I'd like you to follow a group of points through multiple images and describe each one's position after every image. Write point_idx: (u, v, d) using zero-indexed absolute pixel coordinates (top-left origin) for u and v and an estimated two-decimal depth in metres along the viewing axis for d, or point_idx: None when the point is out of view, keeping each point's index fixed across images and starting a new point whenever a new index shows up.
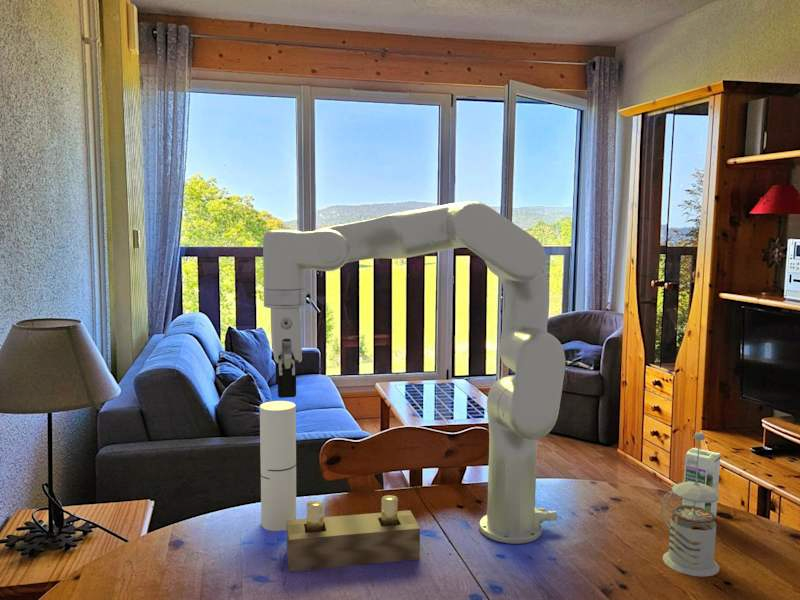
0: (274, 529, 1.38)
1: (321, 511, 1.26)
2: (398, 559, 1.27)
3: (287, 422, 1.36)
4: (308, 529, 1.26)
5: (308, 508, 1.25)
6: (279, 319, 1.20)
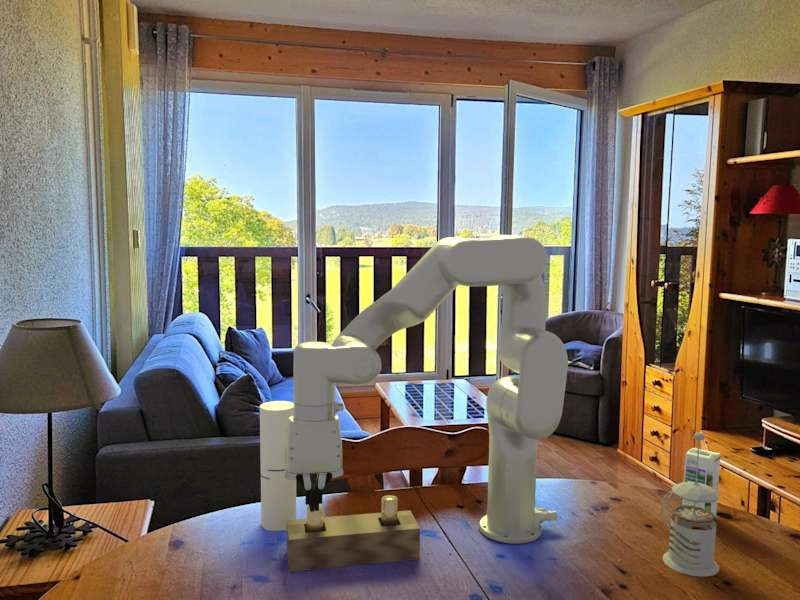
0: (274, 529, 1.38)
1: (321, 514, 1.26)
2: (398, 559, 1.27)
3: (287, 422, 1.36)
4: (308, 532, 1.26)
5: (308, 511, 1.25)
6: None
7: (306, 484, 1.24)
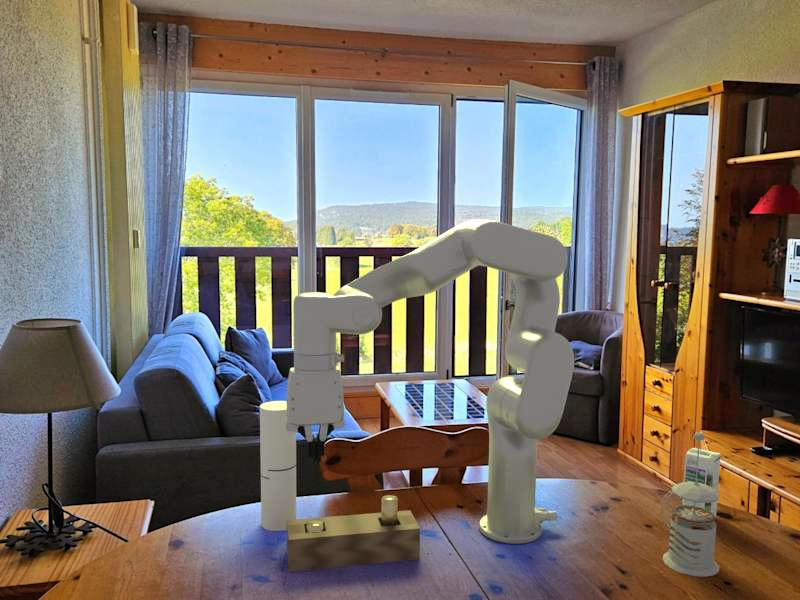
0: (274, 529, 1.38)
1: (321, 531, 1.26)
2: (398, 559, 1.27)
3: None
4: None
5: (308, 528, 1.26)
6: (341, 379, 1.23)
7: (308, 436, 1.23)
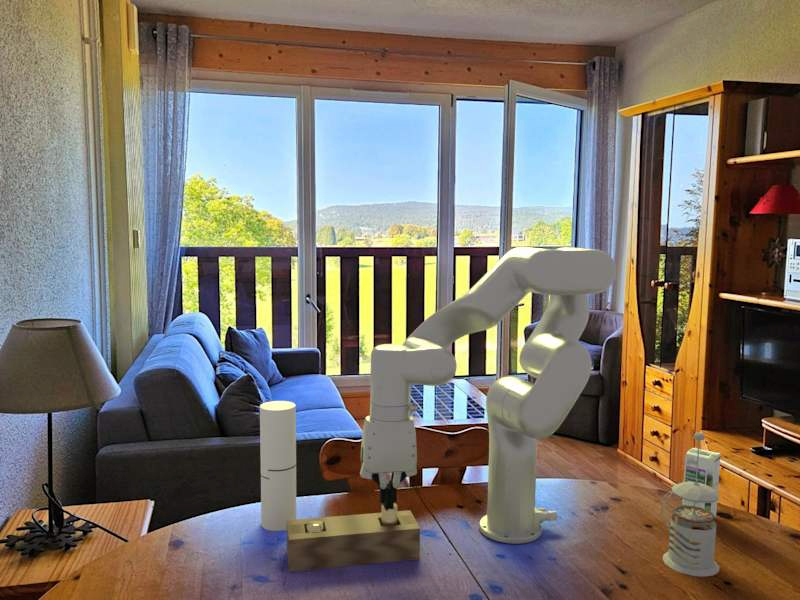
0: (274, 529, 1.38)
1: (321, 531, 1.26)
2: (398, 559, 1.27)
3: (287, 422, 1.36)
4: None
5: (308, 528, 1.26)
6: None
7: (382, 483, 1.27)
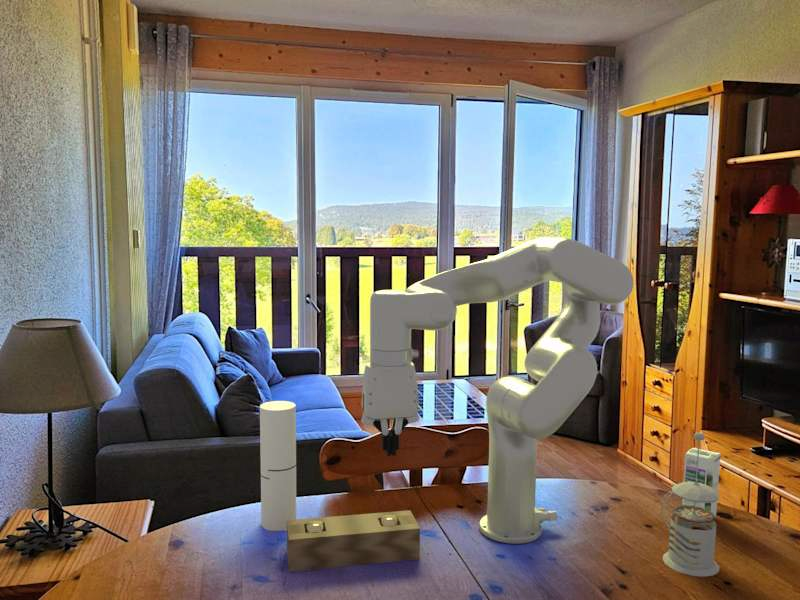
0: (274, 529, 1.38)
1: (321, 531, 1.26)
2: (398, 559, 1.27)
3: (287, 422, 1.36)
4: None
5: (308, 528, 1.26)
6: None
7: (383, 429, 1.26)
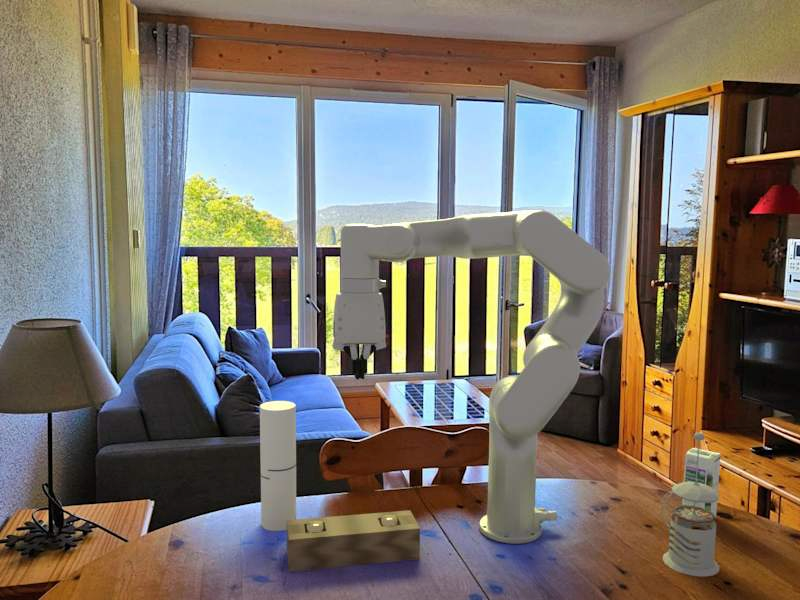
0: (274, 529, 1.38)
1: (321, 531, 1.26)
2: (398, 559, 1.27)
3: (287, 422, 1.36)
4: None
5: (308, 528, 1.26)
6: (383, 303, 1.35)
7: (353, 354, 1.35)
